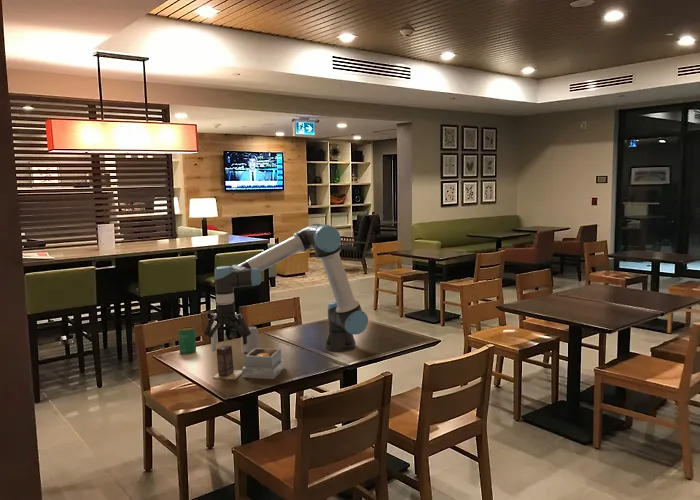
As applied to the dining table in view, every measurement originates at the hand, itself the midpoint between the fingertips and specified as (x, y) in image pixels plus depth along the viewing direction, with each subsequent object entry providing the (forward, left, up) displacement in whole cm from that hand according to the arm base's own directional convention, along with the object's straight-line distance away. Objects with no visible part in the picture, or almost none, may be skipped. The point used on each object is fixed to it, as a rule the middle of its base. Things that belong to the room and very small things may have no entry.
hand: (228, 351), depth 241 cm
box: (+1, +1, -10) cm, 10 cm away
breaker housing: (-14, -5, -10) cm, 18 cm away
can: (+3, -34, -11) cm, 36 cm away
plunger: (-14, -5, -6) cm, 16 cm away
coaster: (0, 0, -10) cm, 10 cm away
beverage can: (+34, -29, -11) cm, 46 cm away
